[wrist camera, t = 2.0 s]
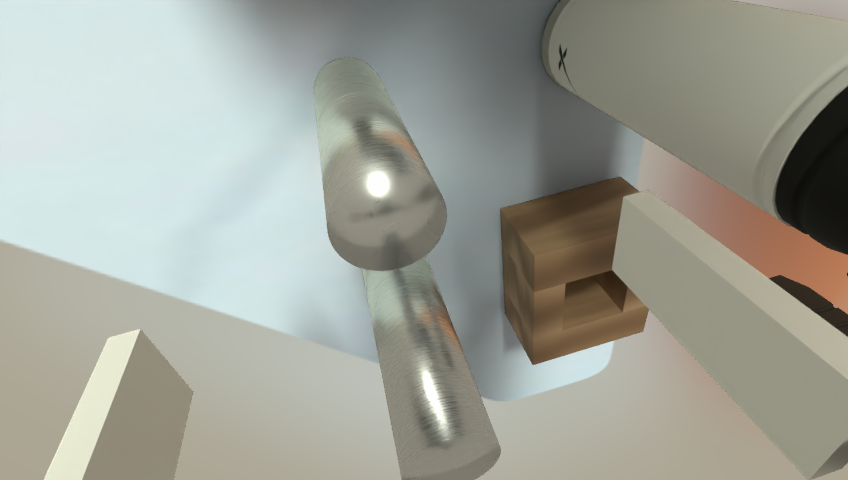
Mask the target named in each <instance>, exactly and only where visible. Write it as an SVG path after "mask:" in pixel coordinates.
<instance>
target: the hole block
mask: <svg viewBox="0 0 848 480" xmlns="http://www.w3.org/2000/svg"><path fill="white" fill-rule="evenodd" d="M638 192H639V191H638V190H637V189H635V188H634V187H633V186H632V185H630V184H629V183H628V182H626V181H625V180H624V179H623V178H621V177H618V178H614V179H610V180H606V181H603V182H599V183H595V184H591V185H588V186H584V187H580V188H576V189H573V190H569V191H565V192H561V193H557V194H554V195H550V196H546V197H542V198H539V199H535V200H531V201H527V202H524V203H520V204H516V205H512V206H508V207H505V208H501V231H502V253H503V276H504V298H505V314H506V316H507V318H508V320H509V322H510V323H511V325H512V327H513V329H514V331H515V333H516V335H517V337H518V338H519V340H520V342H521V344H522V346H523V348H524V350H525V351H526V353H527V355H528V357H529V359H530V361H531V363H532V365H535V364H538V363H541V362H545V361H548V360H551V359H554V358H558V357H561V356H564V355H568V354H571V353H574V352H577V351H581V350H584V349H587V348H591V347H594V346H597V345H600V344H604V343H607V342H610V341H614V340H617V339H620V338H623V337H627V336H630V335H633V334H637V333H640V332H642V331H643V330H644V326H645V322H646V318H647V314H648V311H649V309H648V308H647V307H646V306H645V305H644V304H643V303H642V301H641V300H640V299H639V298H638V297H637V296H636V295H635V294H634V293H633V292H632V291H631V290H630V289H629V287H628V286H627V285H626V284H625V283H624V282H623V281H622V280H621V279H620V278H619V277H618V276H617V275H616V274H615V272H614V271H613V270H612V265H613V259H614V252H615V246H616V240H617V234H618V227H619V221H620V215H621V209H622V202H623V197H624V196H627V195H631V194H635V193H638Z"/></svg>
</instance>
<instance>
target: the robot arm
mask: <svg viewBox="0 0 848 480" xmlns="http://www.w3.org/2000/svg"><path fill="white" fill-rule="evenodd" d="M612 270H613V271H614V272H615V274H616V275H617V276H618V277H619V278H620V279H621V280H622V281H623V282H624V283H625V284H626V285H627V286H628V287H629V289H630V290H631V291H632V292H633V293H634V294H635V295H636V296H637V297H638V298H639V299H640V300H641V301H642V303H643V304H644V305H645V306H646V307H647V308H648V309H649V310H650V311H651V312H652V313H653V314H654V315H655V316H656V318H658V320H659V321H660V322H661V323H662V324H663V325H664V326H665V327H666V328H667V329H668V331H669V332H671V334H672V335H673V336H674V337H675V338H676V339H677V340H678V341H679V342H680V343H681V345H682V346H683V347H685V349H686V350H687V351H688V352H689V353H690V354H691V355H692V356H693V357H694V359H695V360H697V362H698V363H699V364H700V365H701V366H702V367H703V368H704V369H705V370H706V371H707V373H708V374H709V375H710V376H711V377H712V378H713V379H714V380H715V381H716V382H717V383H718V384H719V385H720V386H721V388H722V389H723V390H725V392H726V393H727V394H728V395H729V396H730V397H731V398H732V399H733V400H734V401H735V402H736V404H737V405H738V406H739V407H740V408H741V409H742V410H743V411H744V412H745V413H746V414H747V415H748V417H749V418H750V419H751V420H752V421H753V422H754V423H755V424H756V425H757V426H758V427H759V428H760V430H762V432H763V433H764V434H765V435H766V436H767V437H768V438H769V439H770V440H771V441H772V442H773V444H774V445H775V446H776V447H777V448H778V449H779V450H780V451H781V452H782V453H783V454H784V455H785V456H786V458H787V459H788V460H789V461H790V462H791V463H792V464H793V465H794V466H795V467H796V468H797V469H798V470H799V472H800V473H802V475H803V476H804V477H805V478H806V479H807V480H811V479H814V478H817V477H820V476H822V475H825V474H828V473H831V472H834V471H836V470H839V469H842V468H843V467H844V466H845V465H846V464H847V463H848V314H846V313H845V312H843V311H842V310H841V309H839V308H834V307H833V304H832V303H831V302H829V301H827V300H826V299H825V298H823V297H822V296H820V295H819V294H818V293H816V292H815V291H813V290H812V289H810V288H809V287H807V286H805V285H802V284H800V283H798V282H795V281H793V280H790V279H788V278H786V277H783V276H781V275H778V276H775V277H772V278H767V277H766V276H764V275H763V274H762V273H760V272H759V271H758V270H756V269H755V268H754V267H752V266H751V265H750V264H748V263H747V262H745V261H744V260H743V259H741V258H740V257H739V256H737V255H736V254H735V253H733V252H732V251H731V250H729V249H728V248H727V247H725V246H724V245H723V244H721V243H720V242H718V241H717V240H716V239H714V238H713V237H712V236H710V235H709V234H708V233H706V232H705V231H704V230H702V229H701V228H699V227H698V226H697V225H695V224H694V223H693V222H691V221H690V220H689V219H687V218H686V217H685V216H683V215H682V214H680V213H679V212H678V211H676V210H675V209H674V208H672V207H671V206H670V205H668V204H667V203H666V202H664V201H663V200H662V199H660V198H659V197H657V196H656V195H655V194H653V193H652V192H651V191H649V190H646V191H642V192H638V193H635V194H631V195H627V196H624V197H623V202H622V209H621V215H620V221H619V227H618V234H617V240H616V246H615V252H614V259H613V265H612ZM192 395H193V391H192V389H191V388H190V387H189V386H188V385H187V384H186V382H185V381H184V380H183V379H182V378H181V376H180V375H179V374H178V373H177V372H176V371H175V369H174V368H173V367H172V366H171V365H170V364H169V362H168V361H167V360H166V359H165V357H164V356H163V355H162V354H161V353H160V351H159V350H158V349H157V348H156V347H155V346H154V344H153V343H152V342H151V341H150V340H149V338H148V337H147V336H146V335H145V334H144V333H143V331H142V330H141V329H138V330H135V331H131V332H127V333H124V334H120V335H117V336H113V337H109V338H108V340H107V342H106V345H105V347H104V349H103V351H102V353H101V356H100V358H99V360H98V362H97V364H96V366H95V369H94V371H93V373H92V375H91V377H90V380H89V382H88V384H87V386H86V388H85V391H84V393H83V395H82V397H81V399H80V401H79V404H78V406H77V408H76V410H75V412H74V414H73V417H72V419H71V421H70V423H69V425H68V428H67V430H66V432H65V434H64V436H63V439H62V441H61V443H60V445H59V447H58V450H57V452H56V454H55V456H54V458H53V461H52V463H51V465H50V467H49V469H48V471H47V474H46V476H45V478H44V480H174V477H175V472H176V468H177V463H178V459H179V454H180V449H181V445H182V440H183V435H184V431H185V427H186V422H187V418H188V413H189V409H190V404H191V399H192Z"/></svg>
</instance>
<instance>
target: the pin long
mask: <svg viewBox="0 0 848 480" xmlns="http://www.w3.org/2000/svg"><path fill="white" fill-rule="evenodd" d="M362 272H363V277H364V283H365V288H366V293H367V298H368V304H369V309H370V314H371V320H372V325H373V330H374V335H375V341H376V346H377V351H378V357H379V362H380V367H381V372H382V378H383V383H384V388H385V393H386V399H387V404H388V409H389V414H390V420H391V425H392V430H393V436H394V441H395V446H396V451H397V457H398V462H399V467H400V473H401V478H402V480H475V479H477V478H478V477H480V476H481V475H483V474H484V473H485V472H487V471H488V470H489V469H491V468H492V467H493V466H494V464H495V463H496V462H497V460H498V459H499V456H500V452H501V449H500V445H499V443H498V440H497V438H496V435H495V432H494V430H493V427H492V425H491V422H490V420H489V418H488V414H487V412H486V409H485V407H484V404H483V402H482V399H481V396H480V394H479V391H478V389H477V386H476V384H475V381H474V378H473V376H472V373H471V371H470V368H469V366H468V363H467V360H466V358H465V355H464V353H463V350H462V348H461V345H460V342H459V340H458V337H457V335H456V332H455V330H454V327H453V324H452V322H451V319H450V317H449V314H448V312H447V309H446V306H445V304H444V301H443V299H442V296H441V294H440V291H439V288H438V286H437V283H436V281H435V278H434V276H433V273H432V271H431V268H430V265H429V263H428V260H427V258H426V255H425V256H424V257H423V258H421V259H420V260H418V261H416V262H415V263H413V264H410V265H408V266H406V267H403V268H400V269H395V270H389V271H373V270H367V269H363V268H362Z"/></svg>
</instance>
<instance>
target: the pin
mask: <svg viewBox="0 0 848 480" xmlns="http://www.w3.org/2000/svg"><path fill="white" fill-rule="evenodd" d="M314 100H315V110H316V120H317V130H318V140H319V150H320V160H321V170H322V180H323V190H324V200H325V210H326V220H327V229H328V236H329V239H330V242H331V244H332V246H333V247H334V249H335V250H336V252H337V253H338V254H339V255H340V256H341V257H342V258H343V259H345V260H346V261H347V262H349V263H351V264H352V265H355V266H357V267H360V268H363V269H367V270H373V271H389V270H395V269H400V268H403V267H406V266H408V265H410V264H413V263H415V262H416V261H418V260H420V259H421V258H423V257H424V256H425V255H427V254H428V253H429V252H430V251H431V250H432V249H433V248H434V247H435V245H436V244H437V243H438V241H439V240H440V238H441V236H442V234H443V231H444V229H445V225H446V218H447V212H446V205H445V202H444V199H443V197H442V195H441V193H440V191H439V189H438V187H437V185H436V184H435V182H434V180H433V178H432V176H431V174H430V172H429V170H428V169H427V167H426V165H425V163H424V161H423V159H422V157H421V155H420V154H419V152H418V150H417V148H416V146H415V144H414V142H413V140H412V139H411V137H410V135H409V133H408V131H407V129H406V127H405V125H404V124H403V122H402V120H401V118H400V116H399V114H398V112H397V110H396V109H395V107H394V105H393V103H392V101H391V99H390V97H389V95H388V94H387V92H386V90H385V88H384V86H383V84H382V82H381V80H380V78H379V77H378V75H377V73H376V72H375V71H374V69H373V68H372V67H371V66H369V65H368V64H367V63H365V62H363V61H361V60H359V59H355V58H339V59H336V60H333V61H331V62H330V63H328V64H327V65H325V66H324V67H323V68H322V69H321V71H320V72H319V74H318V75H317V78H316V80H315V84H314Z"/></svg>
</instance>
